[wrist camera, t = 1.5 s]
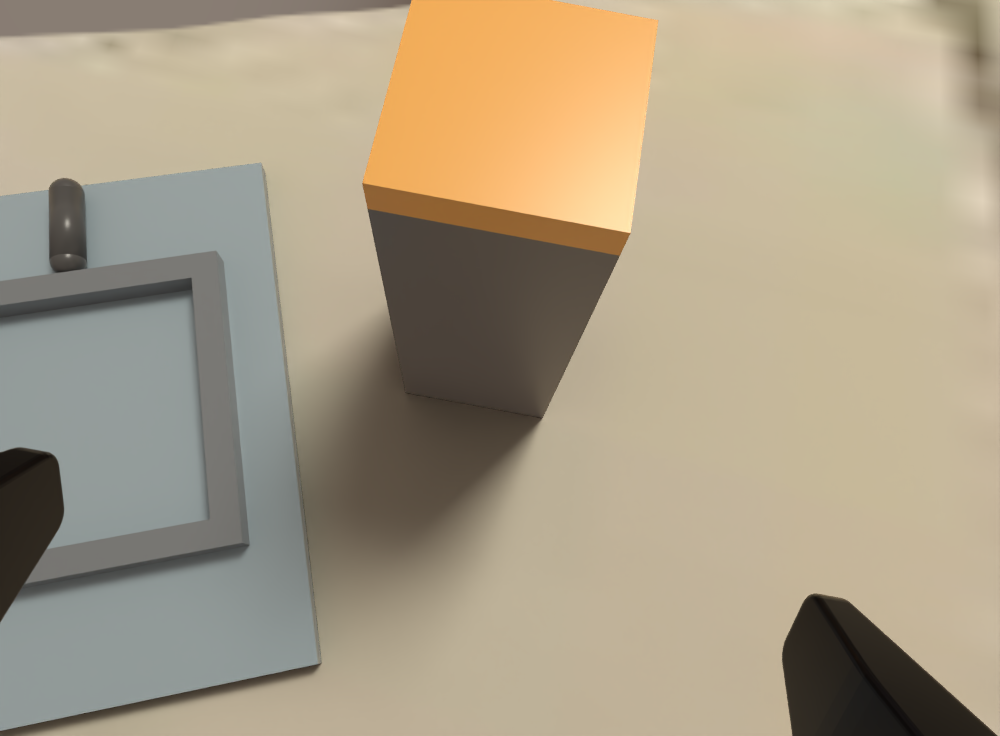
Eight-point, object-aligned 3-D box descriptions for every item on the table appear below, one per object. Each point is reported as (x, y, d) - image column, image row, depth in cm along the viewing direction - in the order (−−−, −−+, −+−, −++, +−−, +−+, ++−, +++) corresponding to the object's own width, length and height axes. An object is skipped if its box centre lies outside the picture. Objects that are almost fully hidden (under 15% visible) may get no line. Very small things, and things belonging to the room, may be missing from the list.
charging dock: (321, 662, 21) (311, 666, 19) (-144, 760, 19) (-195, 773, 18) (265, 172, 25) (253, 144, 24) (-111, 221, 24) (-149, 195, 22)
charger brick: (542, 417, 23) (630, 232, 12) (405, 392, 23) (362, 183, 12) (562, 292, 25) (657, 20, 13) (433, 268, 25) (418, -25, 13)
